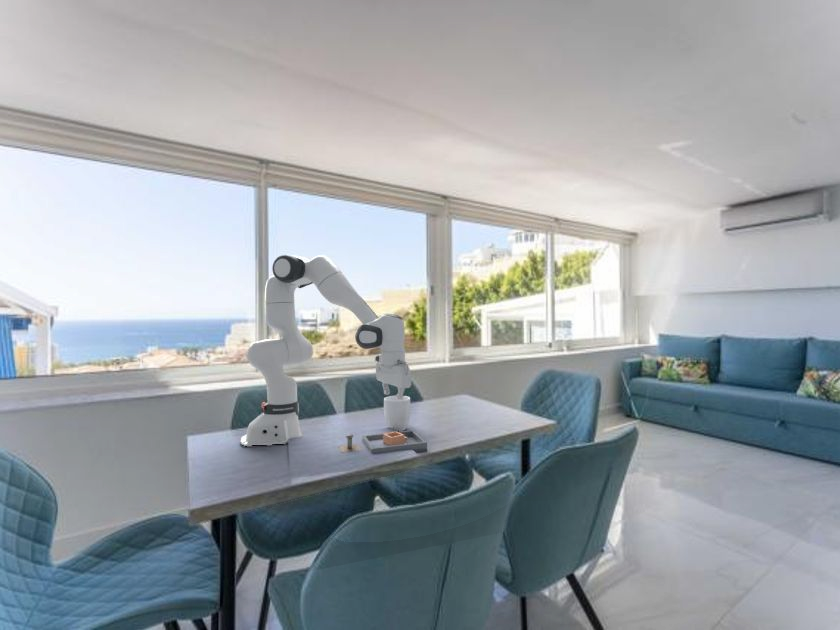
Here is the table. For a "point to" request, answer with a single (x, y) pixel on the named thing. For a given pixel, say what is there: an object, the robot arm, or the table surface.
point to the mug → (397, 412)
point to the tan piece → (394, 438)
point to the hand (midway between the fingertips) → (393, 396)
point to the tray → (412, 443)
